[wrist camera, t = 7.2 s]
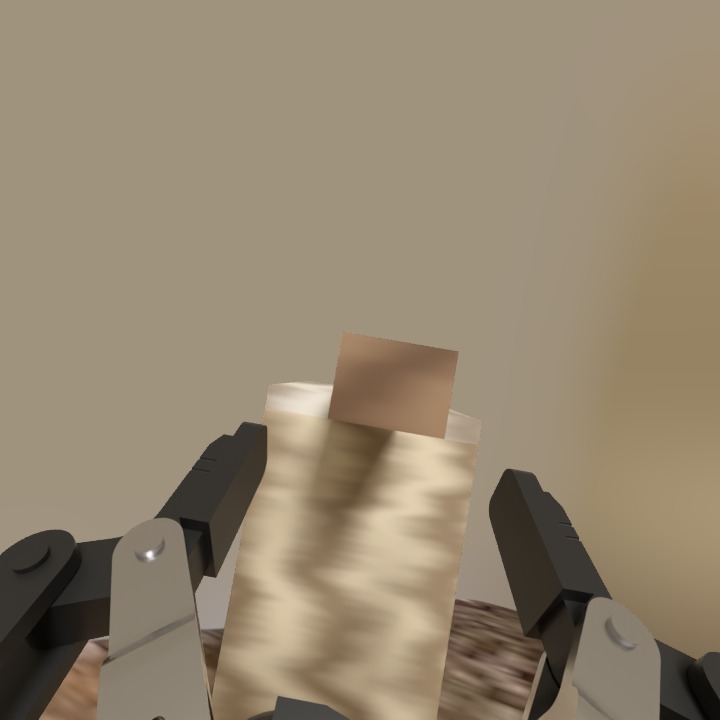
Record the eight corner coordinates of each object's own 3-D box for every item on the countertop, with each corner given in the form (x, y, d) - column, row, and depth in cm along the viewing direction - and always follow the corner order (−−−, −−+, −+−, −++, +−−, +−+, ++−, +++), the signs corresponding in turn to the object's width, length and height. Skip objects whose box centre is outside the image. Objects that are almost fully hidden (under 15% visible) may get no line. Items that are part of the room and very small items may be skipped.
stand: (383, 689, 35) (430, 401, 37) (400, 952, 19) (482, 421, 21) (259, 666, 35) (310, 380, 37) (173, 904, 19) (269, 384, 21)
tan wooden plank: (392, 395, 36) (396, 369, 36) (459, 441, 11) (473, 353, 11) (348, 387, 36) (352, 361, 36) (313, 416, 11) (328, 329, 11)
